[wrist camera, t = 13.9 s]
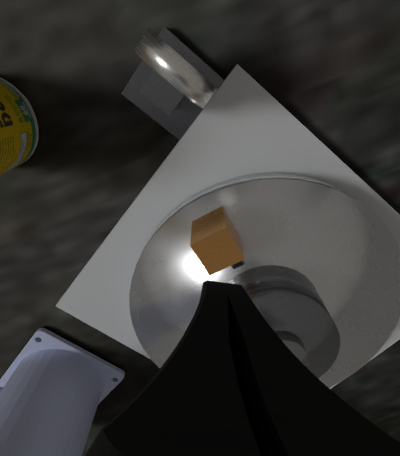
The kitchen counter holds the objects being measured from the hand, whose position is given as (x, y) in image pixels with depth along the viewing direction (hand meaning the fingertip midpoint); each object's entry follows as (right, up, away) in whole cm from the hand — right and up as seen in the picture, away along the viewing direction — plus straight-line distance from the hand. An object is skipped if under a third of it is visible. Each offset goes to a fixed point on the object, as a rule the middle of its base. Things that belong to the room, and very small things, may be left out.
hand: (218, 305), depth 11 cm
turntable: (+4, -2, +11) cm, 12 cm away
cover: (+4, -3, +10) cm, 11 cm away
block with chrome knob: (-2, +11, +7) cm, 13 cm away
